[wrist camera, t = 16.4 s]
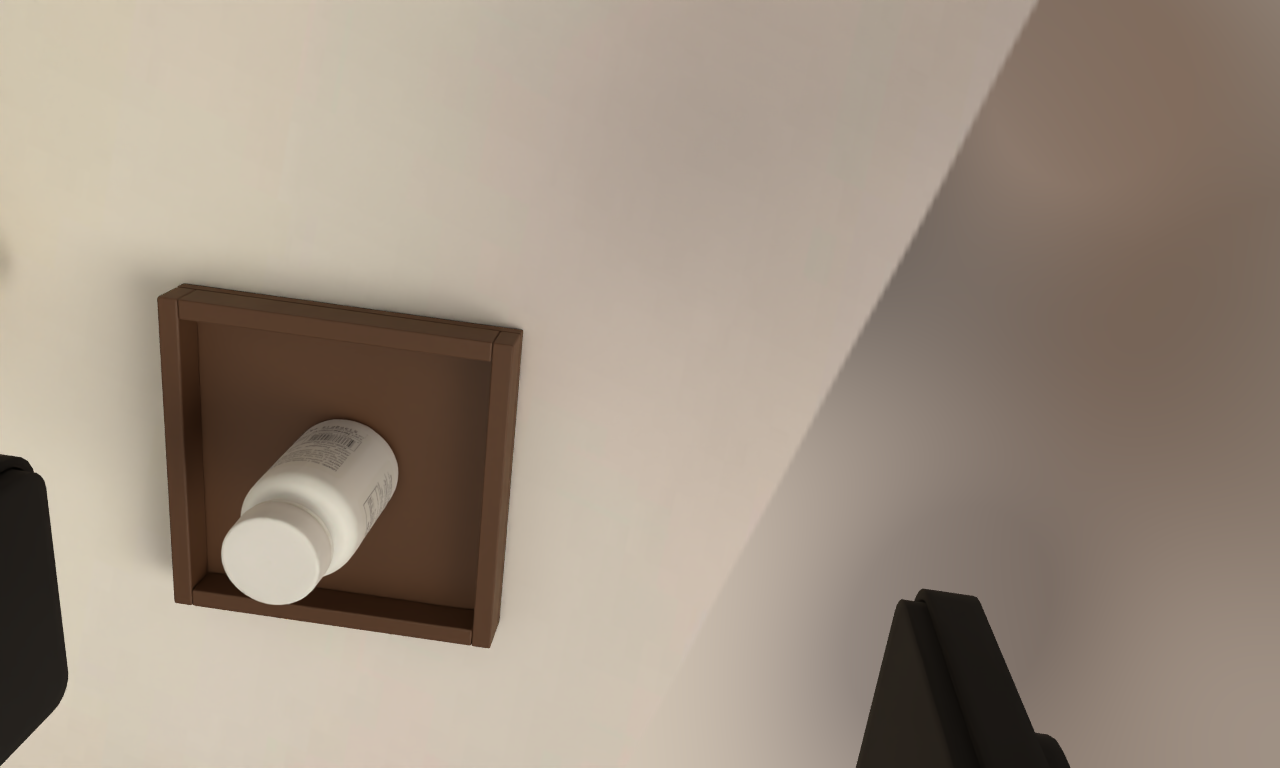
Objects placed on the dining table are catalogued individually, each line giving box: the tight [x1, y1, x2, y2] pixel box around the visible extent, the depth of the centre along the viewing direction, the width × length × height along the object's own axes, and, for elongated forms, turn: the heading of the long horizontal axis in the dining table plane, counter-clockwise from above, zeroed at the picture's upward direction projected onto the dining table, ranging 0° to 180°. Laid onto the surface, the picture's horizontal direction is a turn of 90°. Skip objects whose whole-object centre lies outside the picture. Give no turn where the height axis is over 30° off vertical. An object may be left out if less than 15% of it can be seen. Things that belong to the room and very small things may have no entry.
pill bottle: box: [221, 419, 398, 605], centre depth 37 cm, size 4×4×8 cm
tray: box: [157, 284, 523, 648], centre depth 40 cm, size 14×14×2 cm
